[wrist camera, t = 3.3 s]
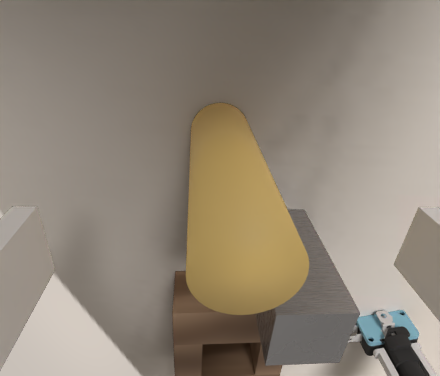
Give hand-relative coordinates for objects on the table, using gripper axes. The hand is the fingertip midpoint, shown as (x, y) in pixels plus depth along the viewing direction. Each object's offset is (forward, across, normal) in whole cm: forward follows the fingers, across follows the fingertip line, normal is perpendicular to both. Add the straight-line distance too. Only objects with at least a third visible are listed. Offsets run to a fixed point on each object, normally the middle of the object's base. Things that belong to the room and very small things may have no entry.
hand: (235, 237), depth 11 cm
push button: (+10, +16, -18) cm, 27 cm away
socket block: (+10, +2, -17) cm, 20 cm away
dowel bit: (+10, 0, +1) cm, 10 cm away
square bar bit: (+10, +5, -7) cm, 13 cm away
